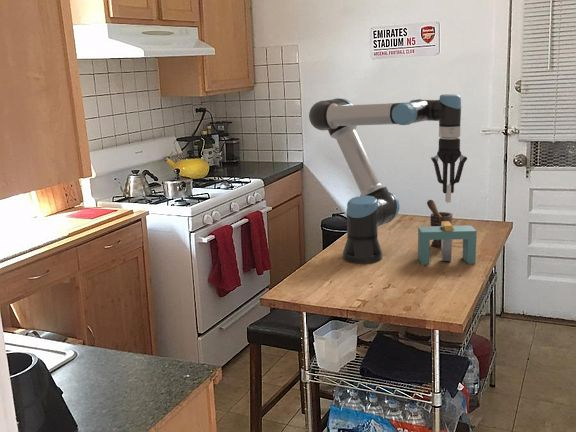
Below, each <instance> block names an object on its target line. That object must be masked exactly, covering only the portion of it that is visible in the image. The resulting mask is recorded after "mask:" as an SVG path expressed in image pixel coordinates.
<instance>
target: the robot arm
mask: <svg viewBox="0 0 576 432" xmlns="http://www.w3.org/2000/svg"><path fill="white" fill-rule="evenodd" d="M461 116H462V98H461V95H459V94H456V93H455V94H454V93H450V94H447V93H446V94H440V96H439V98H438V99H420V98H419V99H412V100H410V101H409V102H408V101H407V102H394V103H393V102H392V103H391V102H389V103H371V104H369V103H368V104H367V103H366V104H353V102H352V101H350V100H349V99H347V98H333V99H328V100H327V99H326V100H320V101H317V102H315V103H314V104H313V105H312V106H311V108H310V110H309V112H308V119H309V123H310V124H311V125H312V127H314V128H315V129H316V130H319V131H327V132H328V133H329V135H330V136H329V137H331V138H333V139H335V140H336V142H337V144H338V147H339V148H340V151H341V153H342V155H343V158H344V159H345V162H346V163H347V166H348V168H349V170H350V172H351V174H352V176H353V179H354V181H355V184H356V185H357V188H358V190H359V192H360V195H359V196H354V197H352V198H350V199H349V200H348V201H347V204H346V221H347V222H346V236H347V237H346V238H347V239H346V242H345V245H344V248H343V252H342V259H343V260H344V261H347V262H349V263H354V264H371V263H372V264H373V263H376V262H379V261H381V260H382V259H383V252H382V251H383V250H382V248H381V244H380V242H379V237H378V236H379V235H378V233H379V232H378V231H379V230H378V229H379V227H380V226H383V225H385V224H388V223H390V222H392V221H393V220H395V219H396V218H397V216H398V214H399V211H400V201H399V199H398V197H397V196H396V195H395V194H393V193H391V192H389V190H388V188H387V186H386V185H384V184H382V183H381V182H380V179H379V178H378V175H377V173H376V171H375V168H374V167H373V165H372V163H371V160H370V158H369V156H368V154H367V152H366V149H365V148H364V145H363V143H362V140H361V139H360V137H359V134H358V132H357V130H356V129H357V126H376V125H377V126H381V125H382V126H383V125H399V126H409V125H411V124H416V123H420V122H424V121H428V122H438V137H439V139H438V150H437V153H436V155H434V156H431V157H430V159H431V161H432V163H433V166H434V170H435V175H436V179H437V182H438V183H439V184H441V185H442V193H443V194H445V195H444V201H445V202H446V203H447V204H448V203H451V201H452V194H453V193H454V192H455V184H458V183H460V182H461V181H460V179H461V177H462V173H463V169H464V165H465V163H466V162H467V160H468V157H467V156H466V155H463V154H462V152H461V138H460V137H461V120H462V119H461V118H462V117H461ZM439 160H440V161H441V162H442V174H441V170H440V166H439V163H438V162H439ZM458 160H459V162H458V165H457V170H456V169H455V168H456V167H455V166H456V162H457V161H458ZM448 166H449V167H448ZM448 168H449V183H448ZM455 170H456V172H455ZM455 173H456V174H455Z"/></svg>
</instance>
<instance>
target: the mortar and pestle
mask: <svg viewBox="0 0 576 432" xmlns="http://www.w3.org/2000/svg"><path fill="white" fill-rule="evenodd" d="M426 205H427V207H428V208H429V210H430V211H431V214H430V226H441V222H442V221H449V222H450V223H451V224H452V225H453V215H454V214H453V213H451V212H446V211H438V208H437V205H436V202H435V201H434V200H433V199H428V200H427V202H426ZM431 245H432V246H433V247H435V248H438V249H439V248H440V249H441V240H432V242H431Z"/></svg>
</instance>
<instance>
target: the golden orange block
mask: <svg viewBox="0 0 576 432" xmlns="http://www.w3.org/2000/svg"><path fill="white" fill-rule="evenodd" d="M453 226H454V225H453V223H452V224H451V223H450V222H449V221H442V222H441V227H442V231H453ZM452 241H453V239H449V240H441V248H440V250H441V251H440V259H441V260H442V262H448V261H450V262H451V261H452V252H453V251H452V250H453V248H452V246H453V245H452Z"/></svg>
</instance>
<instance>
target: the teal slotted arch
mask: <svg viewBox="0 0 576 432" xmlns="http://www.w3.org/2000/svg"><path fill="white" fill-rule="evenodd" d="M452 226H453V231H442V227H441V226H431V225H430V226H418V228H417V231H418V233H417V260H418V262H419V264H420V265H421V266H423V265H424V266H425V265H427V266H428V265H430V248H431V247H430V245H431V241H434V240H449V239H452V240H462V259H463V260H464V261H465V262H466V264H467V265H471V264H472V265H474V264H476V262H477V261H476V260H477V234H478V233H477V230H476V229H475V228H474V227H473V226H472V225H452Z"/></svg>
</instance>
